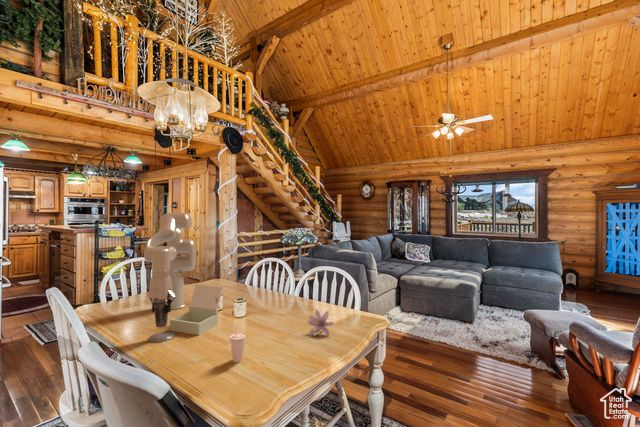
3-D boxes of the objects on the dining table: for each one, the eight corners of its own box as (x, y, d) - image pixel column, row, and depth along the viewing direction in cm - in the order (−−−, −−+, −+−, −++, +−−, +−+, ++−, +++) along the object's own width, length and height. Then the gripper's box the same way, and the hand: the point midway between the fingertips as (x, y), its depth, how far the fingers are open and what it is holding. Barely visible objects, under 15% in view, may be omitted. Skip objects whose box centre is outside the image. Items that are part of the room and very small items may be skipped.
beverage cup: (173, 323, 144) (173, 282, 144) (161, 329, 137) (160, 286, 137) (161, 322, 146) (161, 281, 146) (149, 327, 140) (148, 284, 139)
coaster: (142, 340, 138) (142, 339, 138) (162, 331, 149) (162, 330, 149) (161, 344, 135) (161, 342, 135) (179, 334, 145) (179, 333, 145)
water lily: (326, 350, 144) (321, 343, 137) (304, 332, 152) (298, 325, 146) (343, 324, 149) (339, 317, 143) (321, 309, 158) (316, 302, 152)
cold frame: (170, 330, 150) (169, 293, 150) (196, 317, 168) (196, 284, 168) (199, 335, 145) (198, 296, 145) (223, 321, 163) (223, 286, 162)
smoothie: (231, 356, 123) (231, 322, 123) (247, 355, 124) (246, 322, 124) (227, 364, 117) (227, 328, 117) (244, 363, 117) (244, 328, 117)
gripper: (140, 274, 141) (140, 312, 141) (169, 277, 135) (169, 316, 136) (153, 271, 148) (154, 307, 148) (181, 273, 143) (181, 311, 143)
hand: (161, 311), depth 142 cm, fingers closed on beverage cup, 6 cm apart
